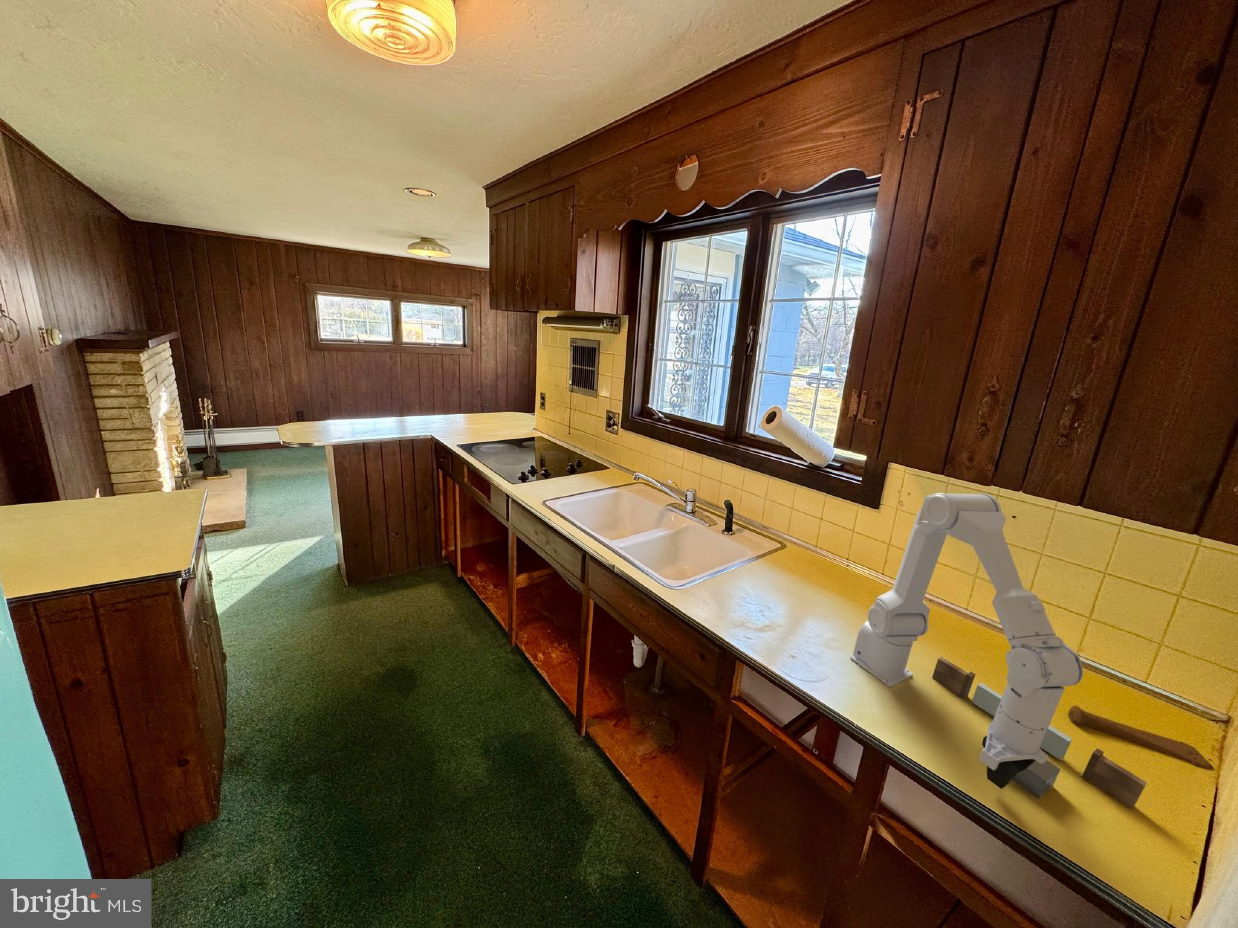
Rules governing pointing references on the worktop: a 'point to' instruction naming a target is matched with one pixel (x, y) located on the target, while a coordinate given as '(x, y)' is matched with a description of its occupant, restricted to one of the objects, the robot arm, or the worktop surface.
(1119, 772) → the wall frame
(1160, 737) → the primitive tool
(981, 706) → the pale grey-green bar
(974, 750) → the worktop surface
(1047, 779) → the block
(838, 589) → the worktop surface
